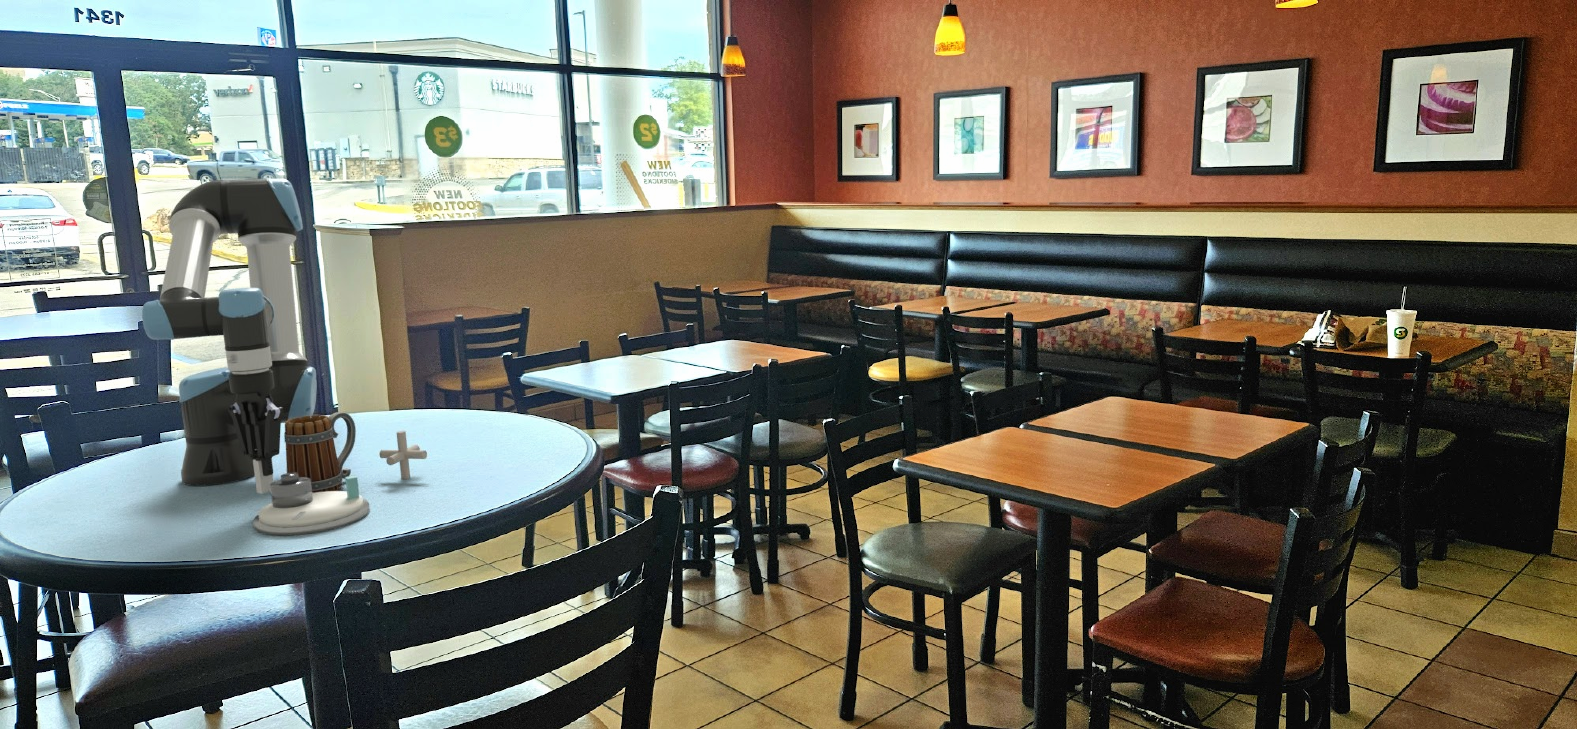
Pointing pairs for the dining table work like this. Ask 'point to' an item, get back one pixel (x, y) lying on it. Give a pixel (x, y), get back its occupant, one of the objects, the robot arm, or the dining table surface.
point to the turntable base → (312, 528)
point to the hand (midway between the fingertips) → (265, 491)
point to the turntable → (316, 508)
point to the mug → (318, 450)
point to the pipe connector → (403, 454)
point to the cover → (291, 491)
